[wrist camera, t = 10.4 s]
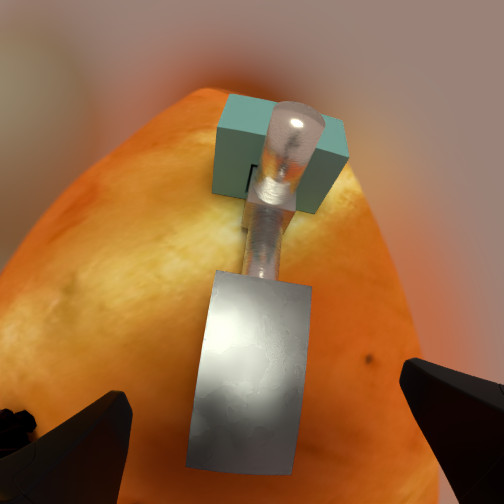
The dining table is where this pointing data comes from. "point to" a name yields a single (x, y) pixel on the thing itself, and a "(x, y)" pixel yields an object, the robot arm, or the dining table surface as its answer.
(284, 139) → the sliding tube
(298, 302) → the grey rectangular box
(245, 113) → the teal block
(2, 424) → the cat figurine
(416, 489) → the dining table surface
